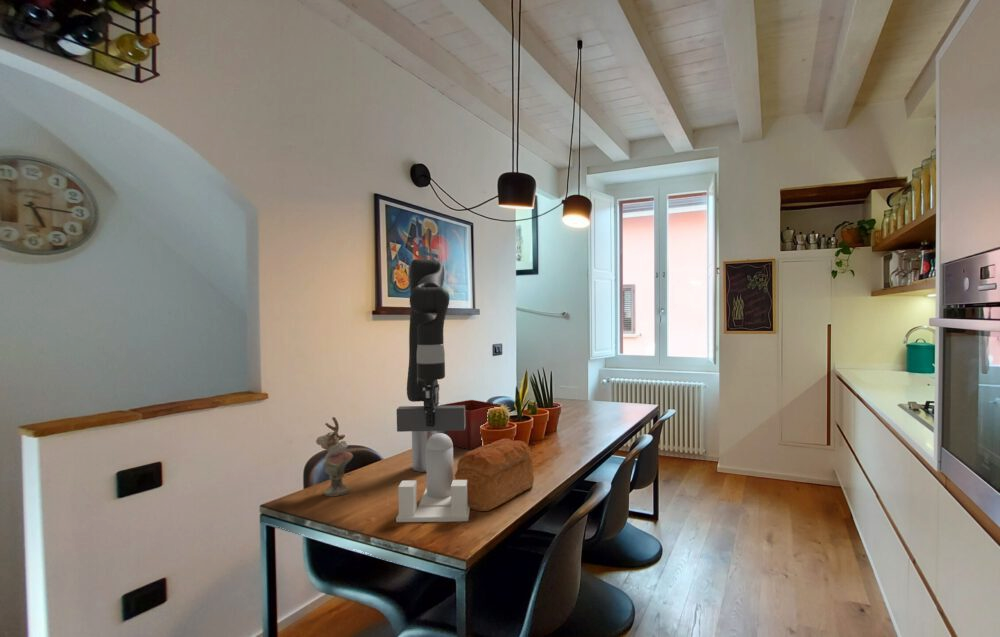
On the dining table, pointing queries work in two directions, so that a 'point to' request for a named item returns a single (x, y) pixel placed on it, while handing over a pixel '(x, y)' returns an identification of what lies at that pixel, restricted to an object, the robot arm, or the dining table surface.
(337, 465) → the decorative bust
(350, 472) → the dining table surface
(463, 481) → the display stand
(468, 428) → the plant pot
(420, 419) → the gray bar
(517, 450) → the bread
